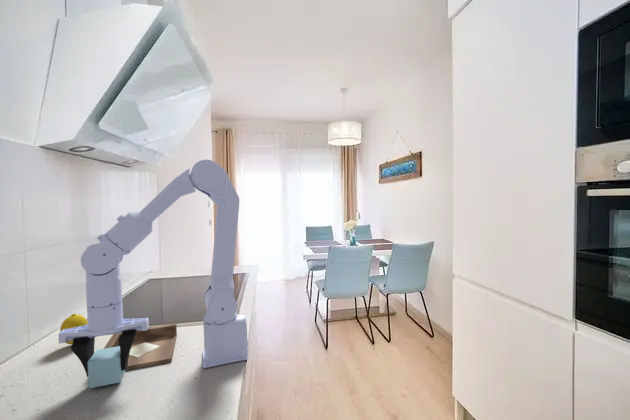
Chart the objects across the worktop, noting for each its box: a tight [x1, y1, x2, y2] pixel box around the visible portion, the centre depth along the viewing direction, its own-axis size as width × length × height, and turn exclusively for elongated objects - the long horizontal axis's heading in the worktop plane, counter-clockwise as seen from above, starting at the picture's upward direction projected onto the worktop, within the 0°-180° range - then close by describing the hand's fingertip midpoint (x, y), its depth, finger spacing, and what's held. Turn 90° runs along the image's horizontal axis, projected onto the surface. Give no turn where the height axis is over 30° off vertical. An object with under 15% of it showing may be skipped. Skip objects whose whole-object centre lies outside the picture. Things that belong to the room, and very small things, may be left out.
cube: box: [87, 346, 126, 389], centre depth 59 cm, size 5×5×5 cm
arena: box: [103, 323, 178, 371], centre depth 70 cm, size 14×14×3 cm
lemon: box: [59, 313, 88, 346], centre depth 75 cm, size 6×6×8 cm
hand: (108, 370), depth 59 cm, fingers closed on cube, 5 cm apart
